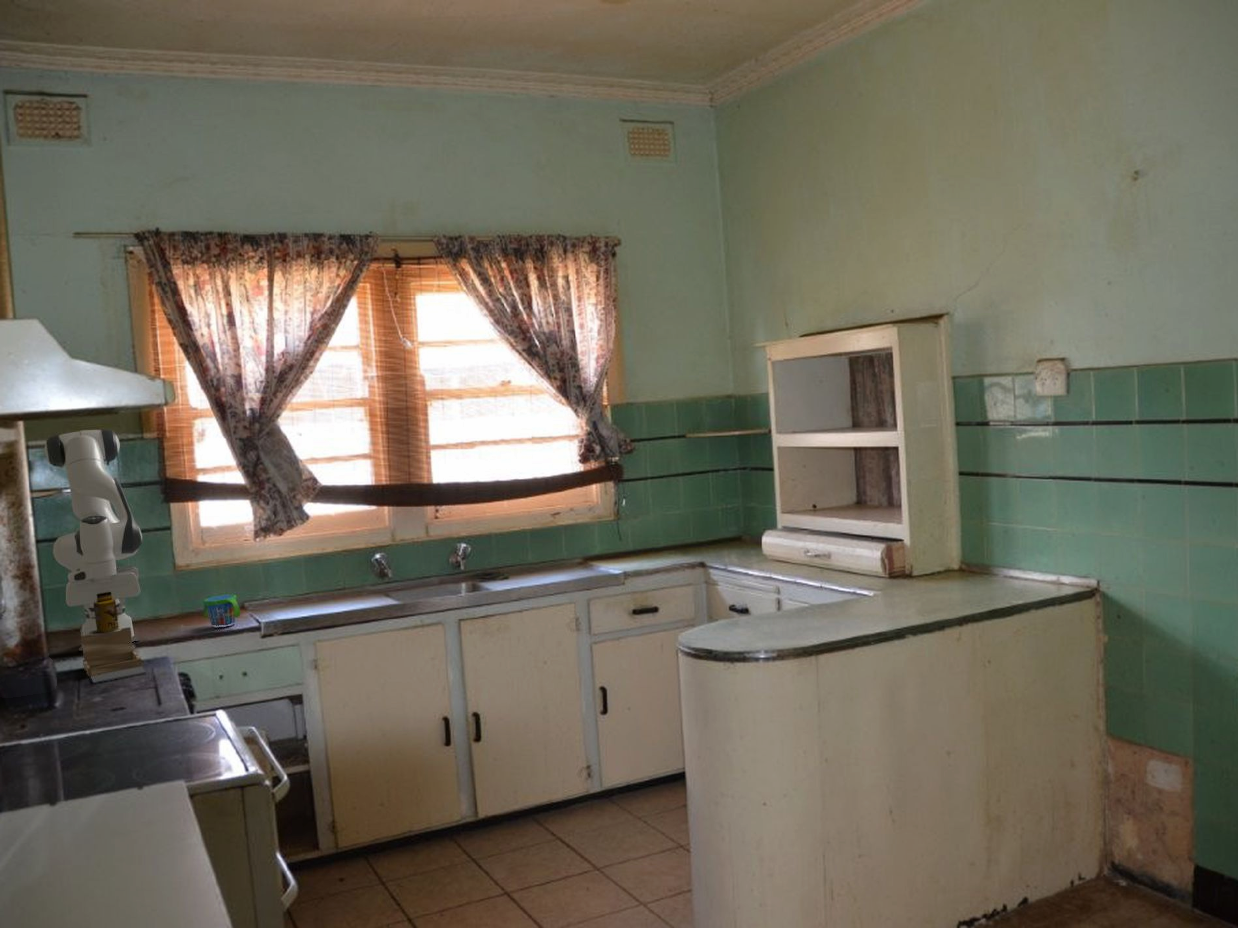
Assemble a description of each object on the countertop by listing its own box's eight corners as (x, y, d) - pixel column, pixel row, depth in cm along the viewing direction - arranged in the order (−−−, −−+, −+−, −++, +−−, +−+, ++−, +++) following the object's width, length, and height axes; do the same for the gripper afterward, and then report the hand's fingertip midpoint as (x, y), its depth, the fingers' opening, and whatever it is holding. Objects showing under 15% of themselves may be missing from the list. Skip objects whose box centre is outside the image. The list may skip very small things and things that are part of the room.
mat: (90, 678, 321) (90, 676, 321) (142, 668, 328) (141, 666, 328) (93, 684, 314) (93, 681, 314) (146, 673, 321) (146, 671, 321)
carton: (83, 668, 336) (79, 635, 335) (135, 658, 343) (131, 626, 343) (88, 677, 323) (84, 643, 322) (142, 666, 330) (138, 634, 329)
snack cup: (196, 628, 383) (193, 599, 382) (223, 621, 392) (219, 593, 391) (224, 631, 374) (220, 601, 373) (250, 624, 383) (247, 595, 382)
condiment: (122, 630, 331) (117, 591, 330) (91, 636, 327) (86, 596, 326) (118, 626, 337) (113, 588, 336) (87, 632, 333) (82, 593, 332)
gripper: (136, 563, 339) (141, 607, 340) (62, 574, 329) (68, 620, 330) (139, 565, 333) (144, 610, 335) (63, 577, 323) (70, 623, 324)
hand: (106, 615), depth 332 cm, fingers closed on condiment, 6 cm apart
